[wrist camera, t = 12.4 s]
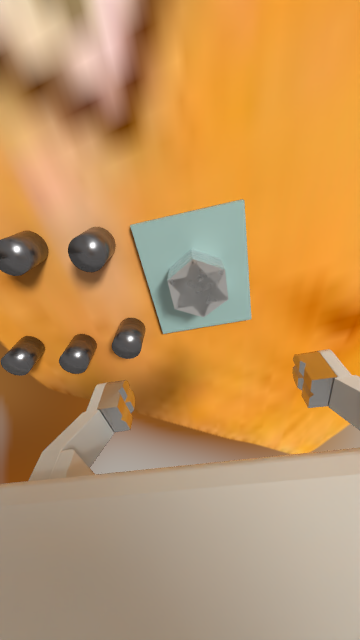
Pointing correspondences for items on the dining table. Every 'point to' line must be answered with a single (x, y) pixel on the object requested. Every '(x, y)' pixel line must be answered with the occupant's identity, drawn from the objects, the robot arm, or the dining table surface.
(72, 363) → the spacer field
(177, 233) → the board
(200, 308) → the grey hexagonal block
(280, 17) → the dining table surface
